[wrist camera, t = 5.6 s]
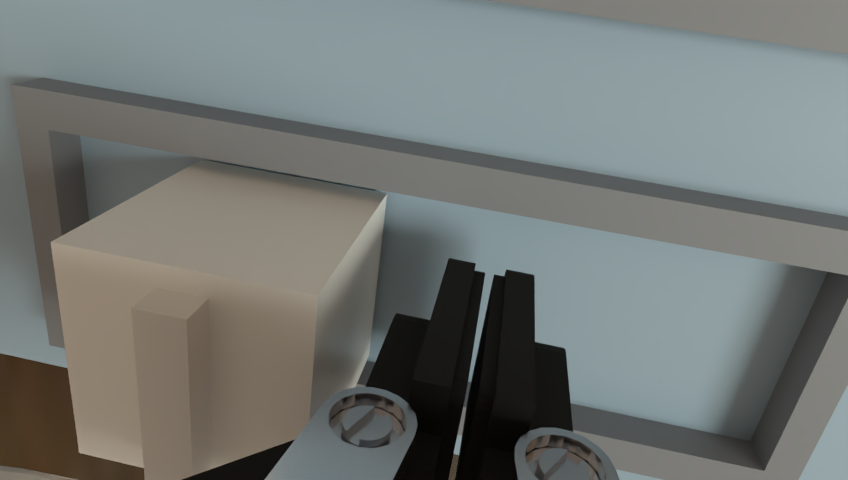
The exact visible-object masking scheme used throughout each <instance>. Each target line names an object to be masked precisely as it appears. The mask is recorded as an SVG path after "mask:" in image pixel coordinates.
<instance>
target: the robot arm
mask: <svg viewBox="0 0 848 480" xmlns="http://www.w3.org/2000/svg"><path fill="white" fill-rule="evenodd" d="M475 265H476V263H472V262H467V261H462V260H457V259H452V258H449V259H448V262H447V265H446V269H445V272H444V275H443V279H442V282H441V285H440V289H439V292H438V295H437V299H436V302H435V305H434V309H433V312H432V315H431V319H430V320H428V319H423V318H418V317H413V316H408V315H404V314H399V313H396V314H395V316H394V318H393V320H392V323H391V325H390V328H389V330H388V333H387V335H386V337H385V340H384V342H383V345H382V347H381V350H380V352H379V354H378V357H377V359H376V362H375V364H374V367H373V369H372V372H371V374H370V376H369V379H368V381H367V384H366V386H365V387H354V388H349V389H345V390H342V391H340V392H338V393H335V394H333V395H331V396H330V397H329V398H328V399H327V400H326V401H325V402H324V403H323V404H322V405H321V406H320V408H319V409H318V410H317V411H316V413H315V414H314V415H313V417H312V418H311V419H310V421H309V422H308V423H307V425H306V426H305V427H304V429H303V430H302V431H301V432H300V434H299V435H298V436H297V438H296V439H295V440H292V441H289V442H286V443H283V444H281V445H278V446H275V447H272V448H269V449H266V450H264V451H261V452H258V453H255V454H252V455H250V456H247V457H244V458H241V459H238V460H235V461H233V462H230V463H227V464H224V465H221V466H219V467H216V468H213V469H210V470H207V471H204V472H202V473H199V474H196V475H193V476H190V477H187V478H185V479H182V480H448V478H449V473H450V468H451V463H452V458H453V454H454V449H455V444H456V439H457V435H458V430H459V425H460V420H461V415H462V411H463V406H464V401H465V395H466V390H467V384H468V379H469V372H470V366H471V360H472V354H473V347H474V341H475V335H476V328H477V322H478V316H479V310H480V303H481V297H482V291H483V285H484V278H485V272H480V271H475ZM0 480H78V479H73V478H68V477H63V476H58V475H52V474H47V473H42V472H37V471H32V470H27V469H22V468H15V467H7V466H0ZM455 480H619V477H618V474H617V471H616V469H615V467H614V465H613V463H612V462H611V460H610V458H609V457H608V456H607V455H606V454H605V453H604V451H603V450H602V449H601V448H600V447H599V446H597V445H596V444H594V443H593V442H591V441H590V440H589V439H587V438H586V437H583V436H581V435H579V434H577V433H574V432H573V425H572V413H571V402H570V391H569V380H568V369H567V358H566V351H565V349H564V348H562V347H557V346H552V345H547V344H543V343H538V342H535V280H534V275H532V274H527V273H522V272H517V271H512V270H507V269H506V272H505V276H500V275H495V274H494V277H493V281H492V286H491V290H490V295H489V300H488V305H487V309H486V314H485V319H484V324H483V328H482V333H481V338H480V342H479V347H478V352H477V357H476V361H475V366H474V371H473V376H472V380H471V385H470V390H469V395H468V401H467V407H466V413H465V420H464V426H463V433H462V439H461V446H460V452H459V459H458V465H457V472H456V478H455Z"/></svg>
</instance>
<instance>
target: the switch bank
mask: <svg viewBox="0 0 848 480" xmlns="http://www.w3.org/2000/svg"><path fill="white" fill-rule="evenodd" d="M200 160H207V161H213V162H218V163H224V164H229V165H235V166H240V167H246V168H251V169H257V170H262V171H268V172H273V173H279V174H284V175H289V176H295V177H300V178H306V179H311V180H317V181H322V182H328V183H333V184H339V185H344V186H350V187H355V188H361V189H366V190H372V191H377V192H383V193H387V200H386V209H385V218H384V227H383V235H382V244H381V253H380V262H379V271H378V280H377V289H376V298H375V306H374V315H373V324H372V333H371V342H370V351H369V357H368V359H367V361H366V364H365V366H364V368H363V370H362V373H361V375H360V377H359V380H358V382H357V384H356V387H365V386H366V384H367V381H368V379H369V376H370V374H371V372H372V369H373V367H374V364H375V362H376V359H377V357H378V354H379V352H380V350H381V347H382V345H383V342H384V340H385V337H386V335H387V333H388V330H389V328H390V325H391V323H392V320H393V318H394V316H395V314H396V313H399V314H404V315H408V316H413V317H418V318H423V319H428V320H430V319H431V315H432V312H433V309H434V305H435V302H436V299H437V295H438V292H439V289H440V285H441V282H442V279H443V275H444V272H445V269H446V265H447V262H448V259H449V258H452V259H457V260H462V261H467V262H472V263H476V265H475V271H480V272H485V278H484V285H483V291H482V297H481V303H480V310H479V316H478V322H477V328H476V335H475V341H474V347H473V354H472V360H471V366H470V372H469V379H468V384H467V390H466V395H465V401H464V406H463V411H462V415H461V420H460V425H459V430H458V435H457V439H456V444H455V449H454V454H457V455H459V452H460V446H461V439H462V433H463V426H464V420H465V413H466V407H467V401H468V395H469V390H470V385H471V380H472V376H473V371H474V366H475V361H476V357H477V352H478V347H479V342H480V338H481V333H482V328H483V324H484V319H485V314H486V309H487V305H488V300H489V295H490V290H491V286H492V281H493V277H494V274H495V275H500V276H505V272H506V269H507V270H512V271H517V272H522V273H527V274H532V275H534V280H535V342H538V343H543V344H547V345H552V346H557V347H562V348H564V349H565V351H566V358H567V369H568V380H569V391H570V402H571V413H572V425H573V432H574V433H577V434H579V435H581V436H583V437H586V438H587V439H589V440H590V441H591V442H593V443H594V444H596V445H597V446H599V447H600V448H601V449H602V450H603V451H604V453H605V454H606V455H607V456H608V457H609V458H610V460H611V462H612V463H613V465H614V467H615V469H616V471H617V474H618V477H619V480H848V0H0V353H2V354H7V355H11V356H16V357H20V358H25V359H29V360H34V361H38V362H43V363H47V364H52V365H56V366H61V367H65V368H68V366H67V359H66V352H65V344H64V337H63V330H62V322H61V315H60V308H59V300H58V293H57V286H56V278H55V271H54V264H53V256H52V249H51V242H52V241H53V240H55V239H57V238H59V237H61V236H63V235H64V234H66V233H68V232H70V231H72V230H74V229H75V228H77V227H79V226H81V225H83V224H85V223H86V222H88V221H90V220H92V219H94V218H95V217H97V216H99V215H101V214H103V213H105V212H106V211H108V210H110V209H112V208H114V207H116V206H117V205H119V204H121V203H123V202H125V201H127V200H128V199H130V198H132V197H134V196H136V195H138V194H139V193H141V192H143V191H145V190H147V189H148V188H150V187H152V186H154V185H156V184H158V183H159V182H161V181H163V180H165V179H167V178H169V177H170V176H172V175H174V174H176V173H178V172H180V171H181V170H183V169H185V168H187V167H189V166H191V165H192V164H194V163H196V162H198V161H200Z"/></svg>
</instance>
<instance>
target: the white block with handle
mask: <svg viewBox="0 0 848 480" xmlns="http://www.w3.org/2000/svg"><path fill="white" fill-rule="evenodd" d="M386 200H387V193H383V192H377V191H372V190H366V189H361V188H355V187H350V186H344V185H339V184H333V183H328V182H322V181H317V180H311V179H306V178H300V177H295V176H289V175H284V174H279V173H273V172H268V171H262V170H257V169H251V168H246V167H240V166H235V165H229V164H224V163H218V162H213V161H207V160H200V161H198V162H196V163H194V164H192V165H191V166H189V167H187V168H185V169H183V170H181V171H180V172H178V173H176V174H174V175H172V176H170V177H169V178H167V179H165V180H163V181H161V182H159V183H158V184H156V185H154V186H152V187H150V188H148V189H147V190H145V191H143V192H141V193H139V194H138V195H136V196H134V197H132V198H130V199H128V200H127V201H125V202H123V203H121V204H119V205H117V206H116V207H114V208H112V209H110V210H108V211H106V212H105V213H103V214H101V215H99V216H97V217H95V218H94V219H92V220H90V221H88V222H86V223H85V224H83V225H81V226H79V227H77V228H75V229H74V230H72V231H70V232H68V233H66V234H64V235H63V236H61V237H59V238H57V239H55V240H53V241H52V242H51V249H52V256H53V264H54V271H55V278H56V286H57V293H58V300H59V308H60V315H61V322H62V330H63V337H64V344H65V352H66V359H67V366H68V374H69V381H70V388H71V396H72V403H73V410H74V418H75V425H76V432H77V440H78V447H79V453H82V454H86V455H91V456H95V457H99V458H103V459H108V460H112V461H116V462H120V463H125V464H129V465H133V466H137V467H142V468H144V476H145V480H182V479H185V478H187V477H190V476H193V475H196V474H199V473H202V472H204V471H207V470H210V469H213V468H216V467H219V466H221V465H224V464H227V463H230V462H233V461H235V460H238V459H241V458H244V457H247V456H250V455H252V454H255V453H258V452H261V451H264V450H266V449H269V448H272V447H275V446H278V445H281V444H283V443H286V442H289V441H292V440H295V439H296V438H297V436H298V435H299V434H300V432H301V431H302V430H303V429H304V427H305V426H306V425H307V423H308V422H309V421H310V419H311V418H312V417H313V415H314V414H315V413H316V411H317V410H318V409H319V408H320V406H321V405H322V404H323V403H324V402H325V401H326V400H327V399H328V398H329V397H330V396H331V395H333V394H335V393H338V392H340V391H342V390H345V389H349V388H354V387H356V384H357V382H358V380H359V377H360V375H361V373H362V370H363V368H364V366H365V364H366V361H367V359H368V357H369V351H370V342H371V333H372V324H373V315H374V306H375V298H376V289H377V280H378V271H379V262H380V253H381V244H382V235H383V227H384V218H385V209H386Z"/></svg>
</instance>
